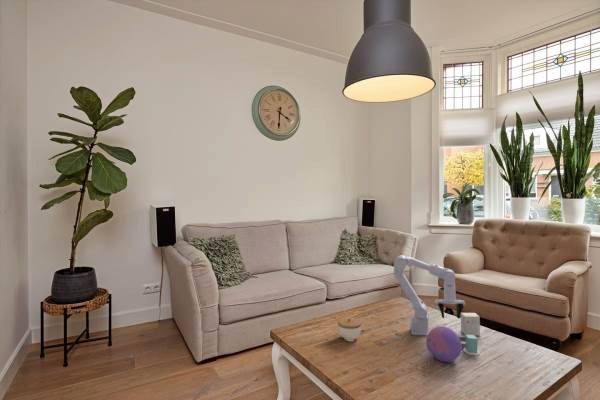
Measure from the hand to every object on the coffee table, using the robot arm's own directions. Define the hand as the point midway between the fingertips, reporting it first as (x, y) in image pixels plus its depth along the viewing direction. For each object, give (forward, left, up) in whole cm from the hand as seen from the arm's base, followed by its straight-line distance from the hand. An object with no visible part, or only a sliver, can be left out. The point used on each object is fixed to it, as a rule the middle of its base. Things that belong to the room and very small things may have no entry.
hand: (450, 317), depth 174 cm
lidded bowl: (-53, -10, -11) cm, 55 cm away
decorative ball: (-9, -26, -11) cm, 29 cm away
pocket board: (0, -7, -10) cm, 13 cm away
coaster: (+6, -16, -10) cm, 20 cm away
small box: (+12, +6, -11) cm, 17 cm away
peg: (+6, -16, -10) cm, 19 cm away
